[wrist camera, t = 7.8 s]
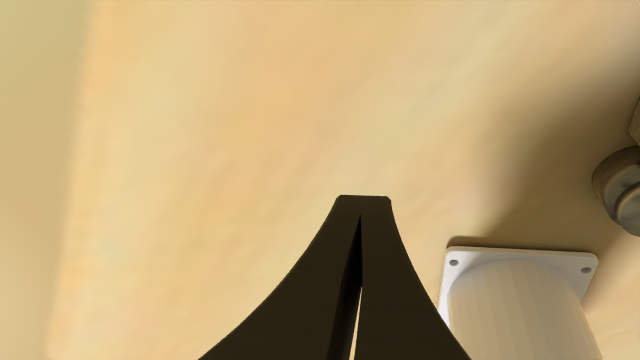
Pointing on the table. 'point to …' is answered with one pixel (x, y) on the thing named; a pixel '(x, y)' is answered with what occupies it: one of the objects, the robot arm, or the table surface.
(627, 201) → the bar
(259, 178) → the table surface
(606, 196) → the tongs base
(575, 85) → the table surface
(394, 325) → the robot arm
